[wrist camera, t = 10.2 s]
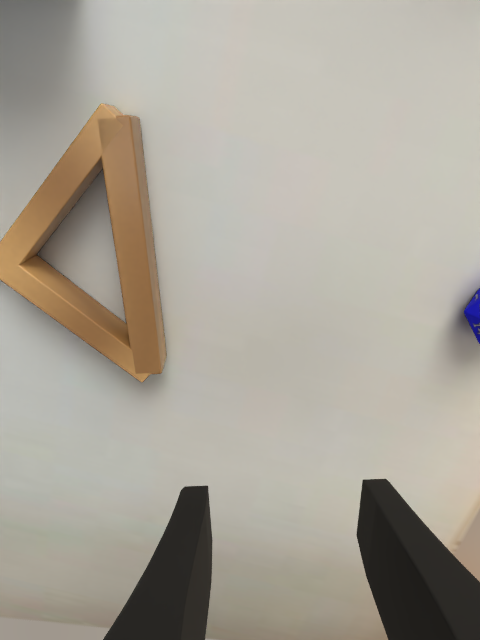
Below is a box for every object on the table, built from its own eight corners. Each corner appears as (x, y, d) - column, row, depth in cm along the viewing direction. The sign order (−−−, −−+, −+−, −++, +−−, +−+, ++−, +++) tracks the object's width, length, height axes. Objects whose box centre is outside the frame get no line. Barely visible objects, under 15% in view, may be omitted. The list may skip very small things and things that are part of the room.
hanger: (-1, 369, 20) (-19, 388, 18) (-78, 112, 15) (-110, 109, 14) (167, 363, 20) (162, 381, 18) (138, 105, 15) (128, 102, 14)
